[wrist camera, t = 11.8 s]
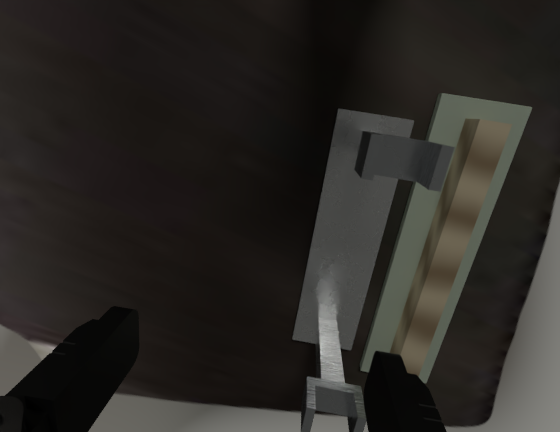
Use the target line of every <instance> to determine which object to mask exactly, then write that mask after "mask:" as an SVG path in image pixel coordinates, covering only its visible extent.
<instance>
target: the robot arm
mask: <svg viewBox="0 0 560 432" xmlns="http://www.w3.org/2000/svg"><path fill="white" fill-rule="evenodd" d="M138 351H139V317H138V312H137V310H134V309H128V308H122V307H116V306H114V307H111V308H110V309H109V310H108V311H107V312H106V313H105V314H104V315H103V316H102V317H101V318H100V319H99V320H95V319H92V320H90V321H89V322H87V323H85V324H83V325H81V326H79V327H78V328H76V329H75V330H74V331H73V332H72V333H71V334H70V335H69V336H67V337H66V338H65V339H64V340H63V343H60V344H59V345H58V346H57V347H56V348H55V349H54V350H53V352H52V353H50V354H49V355H47V356H46V357H45V358H44V359H43V360H42V361H41V362H40V363H39V364H38V365H37V366H36V367H35V368H34V369H33V370H32V371H31V372H30V373H29V374H27V375H26V377H24V378H23V379H22V380H21V381H20V382H19V383H18V384H17V385H16V386H15V387H14V388H13V389H12V390H11V391H10V392H9V393H8V394H6V395H5V396H0V432H88V431H89V429H90V428H91V426H92V425H93V424H94V422H95V420H96V419H97V418H98V416H99V414H100V413H101V412H102V410H103V409H104V407H105V406H106V404H107V403H108V401H109V400H110V399H111V397H112V396H113V394H114V393H115V391H116V390H117V388H118V387H119V385H120V384H121V383H122V381H123V380H124V378H125V377H126V375H127V374H128V372H129V371H130V369H131V368H132V366H133V365H134V363H135V361H136V358H137V355H138ZM364 409H365V414H366V420H367V425H368V431H369V432H446V429H445V427H444V424H443V423H442V422H441V417H440V415H439V412H438V410H437V409H436V405H435V403H434V400H433V398H432V396H431V393H430V391H429V389H428V388H427V387H426V385H425V384H424V383H423V382H422V380H421V379H420V378H419V377H418V376H417V375H416V374H410V373H407V370H406V367H405V365H404V362H403V359H402V357H401V355H399V354H394V353H388V352H382V351H375V353H374V355H373V359H372V362H371V366H370V369H369V373H368V376H367V380H366V384H365V388H364Z"/></svg>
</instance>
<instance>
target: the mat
mask: <svg viewBox="0 0 560 432" xmlns="http://www.w3.org/2000/svg"><path fill="white" fill-rule="evenodd" d="M531 109H532V107H528V106H521V105H515V104H508V103H502V102H496V101H489V100H483V99H476V98H470V97H464V96H457V95H451V94H444V93H440V94H438V98H437V101H436V105H435V108H434V111H433V115H432V118H431V122H430V125H429V129H428V132H427V136H426V139H425V141H430V142H436V143H440V144H444V145H448V146H452V147H455V148H454V151H453V154H452V157H451V160H450V164H449V167H448V170H447V173H446V176H445V179H444V182H443V185H442V188H441V191H440V192H439V191H433V190H428V189H427V188H425V187H424V186H422V185H421V184H419V183H418V182H415V181H413V184H412V187H411V190H410V194H409V197H408V201H407V204H406V208H405V211H404V214H403V218H402V221H401V225H400V228H399V232H398V235H397V238H396V242H395V245H394V249H393V252H392V256H391V259H390V262H389V266H388V269H387V273H386V276H385V280H384V283H383V287H382V290H381V293H380V297H379V300H378V304H377V307H376V311H375V314H374V317H373V321H372V324H371V328H370V331H369V335H368V338H367V341H366V345H365V348H364V352H363V355H362V359H361V362H360V370H361V371H365V372H369V369H370V366H371V362H372V359H373V355H374V353H375V351H382V352H388V353H390V350H391V347H392V344H393V341H394V338H395V335H396V331H397V328H398V325H399V322H400V319H401V316H402V313H403V310H404V307H405V304H406V301H407V298H408V294H409V291H410V288H411V285H412V282H413V279H414V276H415V273H416V270H417V267H418V264H419V261H420V257H421V254H422V251H423V248H424V245H425V242H426V239H427V236H428V233H429V230H430V227H431V224H432V221H433V217H434V214H435V211H436V208H437V205H438V202H439V199H440V196H441V193H442V190H443V187H444V184H445V180H446V177H447V174H448V171H449V168H450V165H451V162H452V159H453V156H454V153H455V150H456V147H457V143H458V140H459V137H460V134H461V131H462V128H463V125H464V122H465V119H482V120H489V121H495V122H501V123H508V124H512V127H511V129H510V132H509V135H508V137H507V140H506V143H505V146H504V148H503V151H502V154H501V156H500V159H499V162H498V164H497V167H496V170H495V172H494V175H493V178H492V181H491V183H490V186H489V189H488V191H487V194H486V197H485V199H484V202H483V205H482V207H481V210H480V213H479V216H478V218H477V221H476V224H475V226H474V229H473V232H472V234H471V237H470V240H469V242H468V245H467V248H466V250H465V253H464V256H463V259H462V261H461V264H460V267H459V269H458V272H457V275H456V277H455V280H454V283H453V285H452V288H451V291H450V294H449V296H448V299H447V302H446V304H445V307H444V310H443V312H442V315H441V318H440V320H439V323H438V326H437V329H436V331H435V334H434V337H433V339H432V342H431V345H430V347H429V350H428V353H427V355H426V358H425V361H424V364H423V366H422V369H421V372H420V374H419V378H420V379H421V380H422V382H423V383H427V380H428V377H429V375H430V372H431V370H432V367H433V364H434V362H435V359H436V357H437V354H438V351H439V349H440V346H441V344H442V341H443V338H444V336H445V333H446V331H447V328H448V325H449V323H450V320H451V318H452V315H453V312H454V310H455V307H456V305H457V302H458V299H459V297H460V294H461V292H462V289H463V286H464V284H465V281H466V279H467V276H468V273H469V271H470V268H471V266H472V263H473V260H474V258H475V255H476V253H477V250H478V247H479V245H480V242H481V240H482V237H483V234H484V232H485V229H486V227H487V224H488V221H489V219H490V216H491V213H492V211H493V208H494V206H495V203H496V200H497V198H498V195H499V193H500V190H501V187H502V185H503V182H504V180H505V177H506V174H507V172H508V169H509V167H510V164H511V161H512V159H513V156H514V154H515V151H516V148H517V146H518V143H519V141H520V138H521V135H522V133H523V130H524V128H525V125H526V122H527V120H528V117H529V115H530V112H531Z"/></svg>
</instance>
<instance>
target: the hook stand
mask: <svg viewBox="0 0 560 432" xmlns="http://www.w3.org/2000/svg"><path fill="white" fill-rule="evenodd" d="M413 123H414V120H408V119H401V118H395V117H389V116H383V115H376V114H370V113H364V112H358V111H351V110H345V109H339V108H338V110H337V115H336V120H335V125H334V130H333V135H332V140H331V145H330V150H329V155H328V160H327V165H326V170H325V175H324V180H323V185H322V190H321V195H320V200H319V205H318V210H317V215H316V220H315V225H314V230H313V235H312V240H311V245H310V250H309V255H308V260H307V265H306V270H305V275H304V280H303V285H302V290H301V295H300V300H299V305H298V311H297V316H296V321H295V326H294V331H293V337H292V340H298V341H303V342H308V343H314V344H316V378H314V377H309V376H307V378H306V383H305V387H304V392H303V396H302V411H301V432H310V429H311V426H312V422H313V418H314V414H315V410H318V411H323V412H328V413H334V414H339V415H344V416H347V417H348V425H349V432H363V430H364V427H365V423H366V421H367V420H366V414H365V409H364V401H363V396H362V390H361V386H356V385H351V384H346V383H345V381H344V373H343V365H342V357H341V350H340V349H346V350H351V349H352V345H353V341H354V338H355V334H356V330H357V327H358V323H359V320H360V316H361V312H362V309H363V305H364V301H365V298H366V294H367V290H368V287H369V283H370V280H371V276H372V272H373V269H374V265H375V261H376V258H377V254H378V251H379V247H380V243H381V240H382V236H383V232H384V229H385V225H386V222H387V218H388V214H389V211H390V207H391V203H392V200H393V196H394V192H395V189H396V185H397V182H398V179H403V180H409V181H415V182H418V183H419V184H421V185H422V186H424V187H425V188H427V189H428V190H433V191H439V192H440V191H441V188H442V185H443V182H444V179H445V176H446V173H447V170H448V167H449V164H450V160H451V157H452V154H453V151H454V148H455V147H452V146H448V145H444V144H440V143H436V142H430V141H424V140H418V139H412V138H410V134H411V131H412V127H413Z"/></svg>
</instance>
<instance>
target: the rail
mask: <svg viewBox="0 0 560 432" xmlns="http://www.w3.org/2000/svg"><path fill="white" fill-rule="evenodd" d="M511 127H512V124H508V123H501V122H495V121H489V120H482V119H465V122H464V125H463V128H462V131H461V134H460V137H459V140H458V143H457V147H456V150H455V153H454V156H453V159H452V162H451V165H450V168H449V171H448V174H447V177H446V180H445V184H444V187H443V190H442V193H441V196H440V199H439V202H438V205H437V208H436V211H435V214H434V217H433V221H432V224H431V227H430V230H429V233H428V236H427V239H426V242H425V245H424V248H423V251H422V254H421V257H420V261H419V264H418V267H417V270H416V273H415V276H414V279H413V282H412V285H411V288H410V291H409V294H408V298H407V301H406V304H405V307H404V310H403V313H402V316H401V319H400V322H399V325H398V328H397V331H396V335H395V338H394V341H393V344H392V347H391V350H390V353H394V354H399V355H401V357H402V359H403V362H404V365H405V367H406V370H407V373H410V374H416V375H417V376H418V377H419V374H420V372H421V369H422V366H423V364H424V361H425V358H426V355H427V353H428V350H429V347H430V345H431V342H432V339H433V337H434V334H435V331H436V329H437V326H438V323H439V320H440V318H441V315H442V312H443V310H444V307H445V304H446V302H447V299H448V296H449V294H450V291H451V288H452V285H453V283H454V280H455V277H456V275H457V272H458V269H459V267H460V264H461V261H462V259H463V256H464V253H465V250H466V248H467V245H468V242H469V240H470V237H471V234H472V232H473V229H474V226H475V224H476V221H477V218H478V216H479V213H480V210H481V207H482V205H483V202H484V199H485V197H486V194H487V191H488V189H489V186H490V183H491V181H492V178H493V175H494V172H495V170H496V167H497V164H498V162H499V159H500V156H501V154H502V151H503V148H504V146H505V143H506V140H507V137H508V135H509V132H510V129H511Z"/></svg>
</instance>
